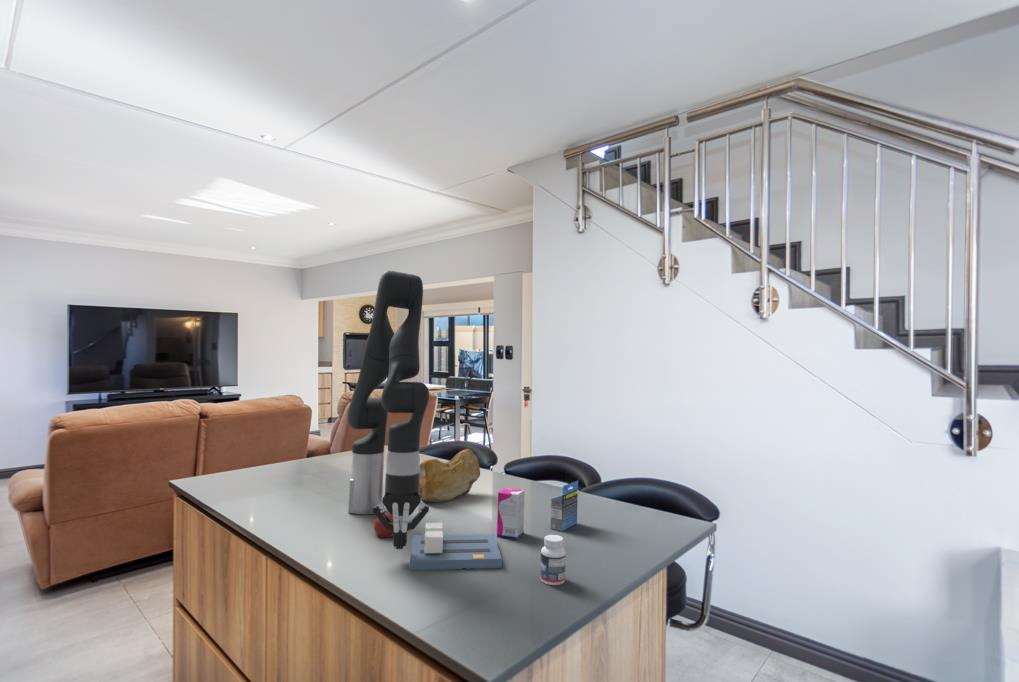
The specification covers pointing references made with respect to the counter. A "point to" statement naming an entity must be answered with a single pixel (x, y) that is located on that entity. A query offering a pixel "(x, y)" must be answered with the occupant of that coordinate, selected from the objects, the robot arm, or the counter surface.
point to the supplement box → (510, 513)
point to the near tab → (433, 542)
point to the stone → (448, 477)
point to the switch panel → (457, 553)
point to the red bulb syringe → (381, 529)
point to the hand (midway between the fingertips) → (399, 547)
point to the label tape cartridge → (564, 508)
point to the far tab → (434, 527)
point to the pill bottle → (553, 560)
